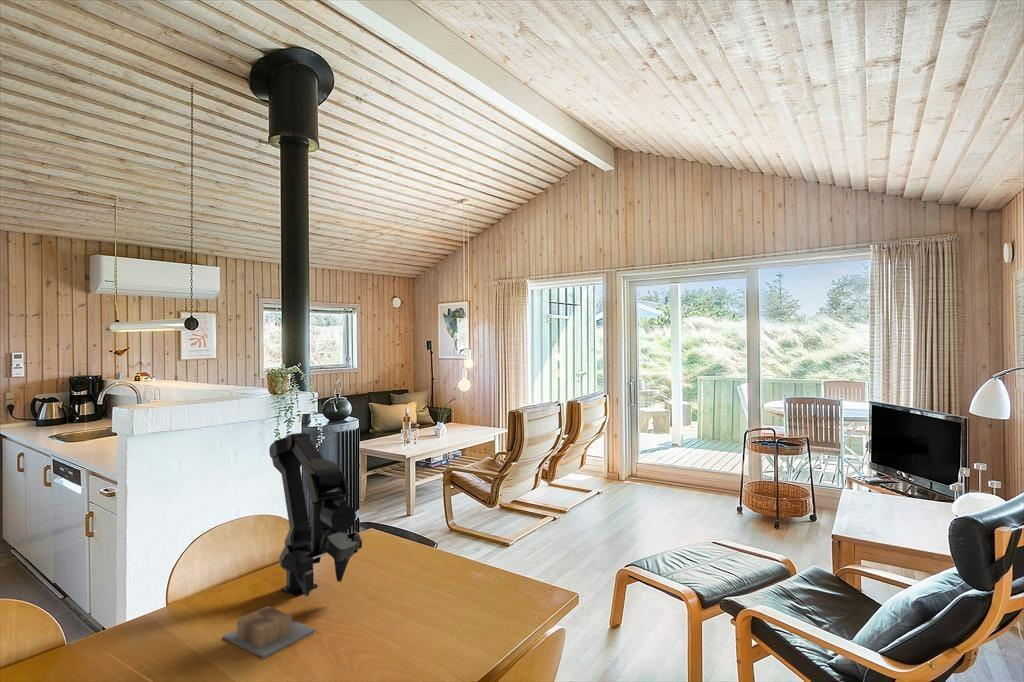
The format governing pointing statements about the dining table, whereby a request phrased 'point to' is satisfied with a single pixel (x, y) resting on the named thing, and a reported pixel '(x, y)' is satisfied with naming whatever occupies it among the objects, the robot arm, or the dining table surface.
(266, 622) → the light brown wooden block
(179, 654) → the dining table surface
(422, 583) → the dining table surface
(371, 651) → the dining table surface
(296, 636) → the rubber mat
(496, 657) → the dining table surface
